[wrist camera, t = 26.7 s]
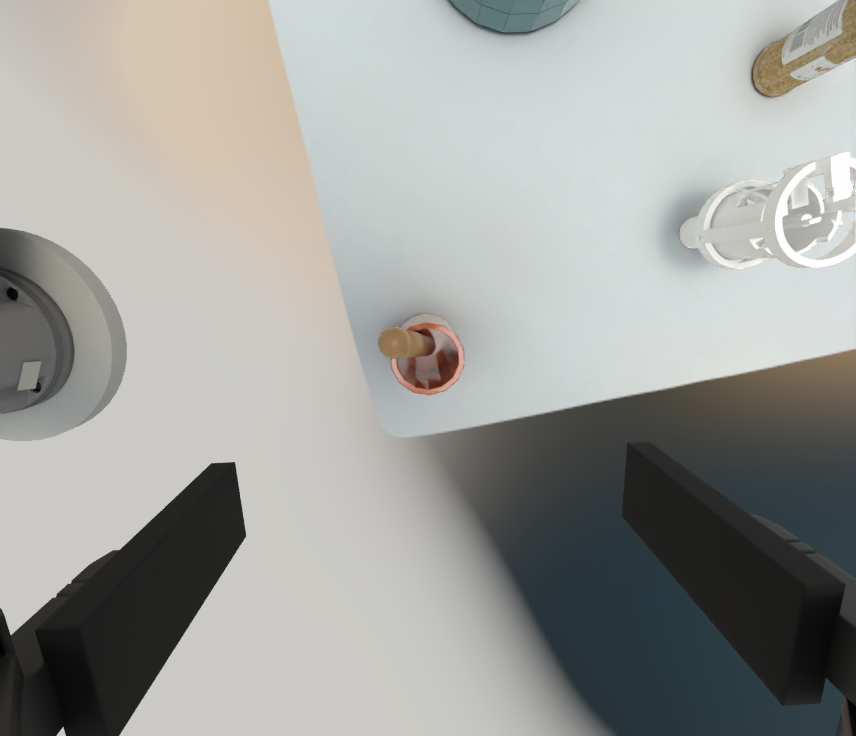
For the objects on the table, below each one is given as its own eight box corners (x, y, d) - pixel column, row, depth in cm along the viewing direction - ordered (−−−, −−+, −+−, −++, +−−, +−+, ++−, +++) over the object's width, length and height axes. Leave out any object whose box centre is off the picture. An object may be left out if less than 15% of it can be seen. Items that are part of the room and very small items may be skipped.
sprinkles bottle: (771, 109, 39) (948, 27, 26) (739, 73, 39) (905, -29, 25) (810, 66, 39) (1011, -39, 25) (778, 29, 38) (968, -99, 25)
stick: (419, 357, 43) (377, 361, 25) (415, 338, 43) (372, 328, 25) (438, 354, 43) (410, 356, 25) (435, 334, 43) (404, 322, 25)
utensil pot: (397, 374, 44) (393, 396, 36) (394, 314, 43) (388, 323, 35) (456, 372, 44) (464, 393, 36) (455, 311, 43) (463, 320, 35)
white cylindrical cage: (725, 185, 41) (898, 136, 26) (734, 257, 42) (901, 249, 28) (653, 206, 41) (785, 169, 26) (665, 277, 43) (795, 280, 28)
